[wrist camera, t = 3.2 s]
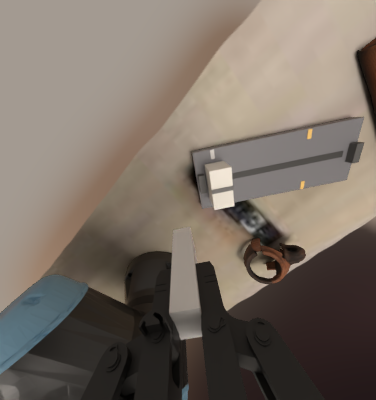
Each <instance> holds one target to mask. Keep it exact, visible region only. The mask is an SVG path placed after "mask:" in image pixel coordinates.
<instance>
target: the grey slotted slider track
mask: <svg viewBox="0 0 376 400" xmlns="http://www.w3.org/2000/svg"><path fill="white" fill-rule="evenodd" d="M363 120H364V117H351V118H346V119H341V120H336V121H332V122H327V123H322V124H318V125H313V126H308V127H303V128H299V129H294V130H289V131H284V132H280V133H275V134H270V135H265V136H261V137H256V138H251V139H247V140H242V141H237V142H232V143H228V144H223V145H218V146H213V147H209V148H204V149H199V150H195V151H192V157H193V163H194V168H195V174H196V180H197V185H198V191H199V196H200V202H201V206H202V209H203V208H209V207H213V206H212V203H211V201H210V199H209V192H208V185H207V178H206V171H205V164H210V163H215V162H220V161H224V162H226V163H227V164H228V165H230V166H231V167H232V181H233V186H234V190H233V195H234V202H239V201H244V200H249V199H254V198H259V197H264V196H269V195H274V194H279V193H284V192H289V191H294V190H299V189H304V188H309V187H314V186H319V185H324V184H329V183H334V182H339V181H344V180H347V177H348V174H349V170H350V166H351V163H356V162H359V159H360V155H361V152H362V149H363V145H364V143H363V142H357V141H358V138H359V134H360V130H361V127H362V123H363Z"/></svg>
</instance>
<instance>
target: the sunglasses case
mask: <svg viewBox="0 0 376 400" xmlns="http://www.w3.org/2000/svg"><path fill="white" fill-rule="evenodd" d="M358 53H359V55H358V58H359V62H360V65H361V69H362V71H363V74H364V77H365V80H366V82H367V85H368V89H369V92H370V94H371V97H372V103H373V107H374V111H375V115H376V38H375V39H374V40H372V41H371V42H370V43H369V44H367V45H366V46H365V47H364V48H363V49H362V50H361V51H359V50H358Z"/></svg>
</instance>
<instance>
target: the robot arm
mask: <svg viewBox="0 0 376 400" xmlns="http://www.w3.org/2000/svg"><path fill="white" fill-rule="evenodd" d="M124 285H125V304H123V303H121V302H119V301H117V300H115V299H113V298H111V297H109V296H107V295H105V294H103V293H100V292H98V291H96V290H94V289H92V288H90V287H88V285H87V284H86V283H84V282H82V283H80V282H77V281H75V280H72V279H70V278H67V277H65V276H62V275H49V276H46V277H44V278H42V279H40V280H39V281H37V282H36V283H35V284H33V285H32V286H31V287H30V288H28V289H27V290H26V291H25V292H24V293H22V294H21V295H20V296H19V297H18V298H17V299H16V300H14V301H13V302H12V303H11V304H10V305H9V306H7V307H6V308H5V309H4V310H3V311H2V312H1V313H0V400H187V391H188V388H189V386H188V376H187V375H188V374H187V357H186V339H190V338H196V337H202V340H203V349H204V358H205V367H206V376H207V385H208V394H209V400H247V396H246V392H245V389H244V385H243V380H242V376H241V372H240V368H239V367H241V368H244V369H248V370H250V371H252V372H253V374H254V376H255V378H256V380H257V382H258V384H259V386H260V388H261V391H262V393H263V395H264V397H265V399H266V400H325V399H324V398H323V396H322V395H321V394H320V392H319V391H318V389H317V388H316V386H315V385H314V384H313V382H312V381H311V379H310V378H309V377H308V375H307V374H306V372H305V371H304V369H303V368H302V366H301V365H300V364H299V362H298V361H297V359H296V358H295V356H294V355H293V354H292V352H291V351H290V349H289V348H288V347H287V345H286V344H285V342H284V341H283V339H282V338H281V336H280V335H279V334H278V332H277V331H276V329H275V328H274V327H273V326H272V325H271V324H270V323H269V322H268V321H266V320H264V319H261V318H255V319H252V320H251V321H250V322H248V321H243V320H238V319H236V318H233V317H232V316H230V315H229V314H228V313H227V311H226V310H225V308H224V306H223V302H222V298H221V294H220V290H219V286H218V282H217V278H216V274H215V270H214V267H213V265H212V264H211V263H210V261H208V262H203V263H197V257H196V250H195V245H194V241H193V237H192V232H191V228H190V227H186V228H180V229H175V230H173V243H172V254H170V253H166V252H151V253H147V254H143V255H141V256H139V257H137V258H136V259H134V260H133V261H132V262H131V263H130V265H129V267H128V269H127V272H126V275H125V280H124Z"/></svg>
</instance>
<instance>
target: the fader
mask: <svg viewBox="0 0 376 400" xmlns="http://www.w3.org/2000/svg"><path fill="white" fill-rule="evenodd" d="M205 171H206V178H207V185H208V192H209V199H210V201H211V203H212V206H213V208H214V210H217V209H222V208H227V207H232V206H234V195H233V190H234V186H233V181H232V167H231V166H230V165H228V164H227V163H226V162H224V161H220V162H215V163H210V164H205Z"/></svg>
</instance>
